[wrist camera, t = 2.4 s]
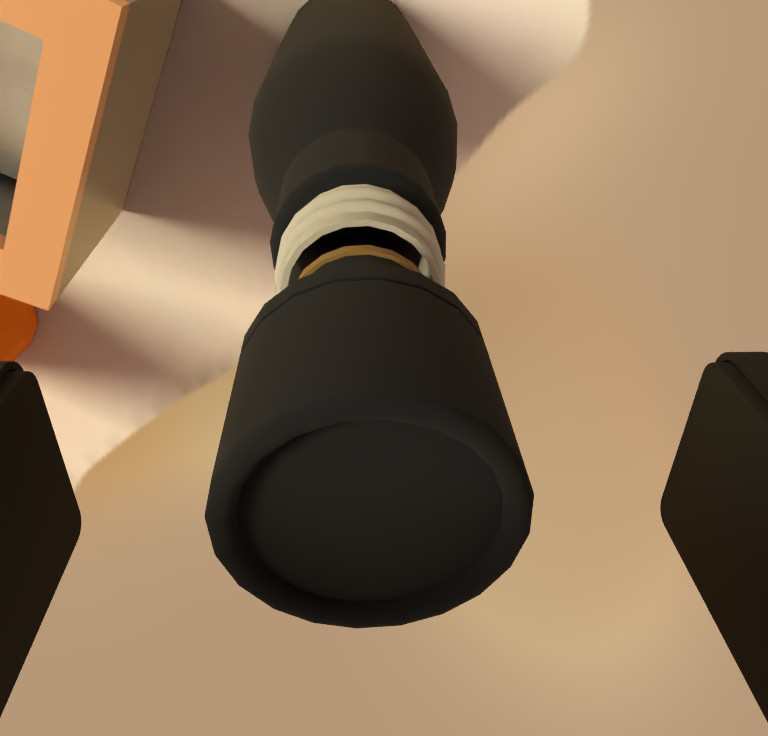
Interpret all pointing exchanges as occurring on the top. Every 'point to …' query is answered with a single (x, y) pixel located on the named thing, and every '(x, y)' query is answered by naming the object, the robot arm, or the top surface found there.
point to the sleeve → (78, 134)
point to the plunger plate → (16, 92)
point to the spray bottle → (15, 327)
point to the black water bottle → (362, 349)
